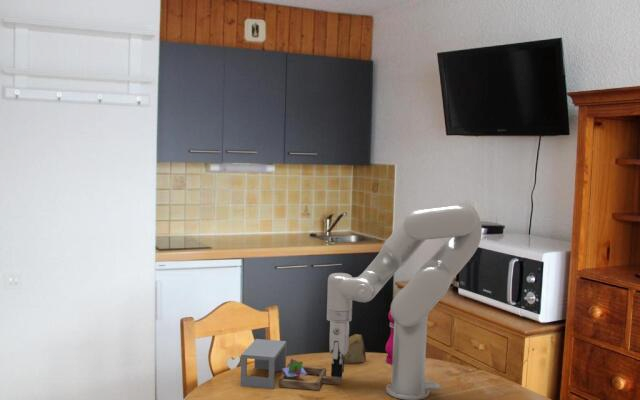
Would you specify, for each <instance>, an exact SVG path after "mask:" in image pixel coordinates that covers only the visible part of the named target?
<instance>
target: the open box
mask: <svg viewBox="0 0 640 400" xmlns="http://www.w3.org/2000/svg"><path fill="white" fill-rule="evenodd" d="M240 358H241V359H240V387H247V388H260V389H269V390H270V389H271V390H274V389H275V371H277V372H278V371H279V372H284V371H283V369H282V368H283V367H284V368H286V367H287V340H277V339H276V340H275V339H262V338H255V339H254V341H253V342H252V343H250V344H249V345H248V347H247V348H245V350H244V351H243V352H242V353H241V355H240ZM248 360H254V369H255V370H264V371H266V370H267V371H268V376H267V377H266V376H257V375H248V373H247V371H248V369H247V368H248Z"/></svg>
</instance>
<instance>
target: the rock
mask: <svg viewBox="0 0 640 400" xmlns="http://www.w3.org/2000/svg"><path fill="white" fill-rule="evenodd" d="M366 355H367V354H366V348H365V343H364V338H363V335H362V334H358V333H355V334H352V335H350V336H349V348H348V351H347V353H346V354H345V355H344V359H342V360H344V364H355V363H365V362H366V360H367V359H366V358H367V357H366Z"/></svg>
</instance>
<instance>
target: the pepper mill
mask: <svg viewBox="0 0 640 400" xmlns="http://www.w3.org/2000/svg"><path fill="white" fill-rule="evenodd" d="M388 320H389V321H390V322H389V327H390V335H389V338H388V340H387V341H386V344H385V350H384V351H385V352H386V358H385V359H386V361H385V362H386V363H387V364H389V365H392V363H393V339H394V322H395V321H394V319H393V317H392V315H391V309H390V310H389V312H388Z"/></svg>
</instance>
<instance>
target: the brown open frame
mask: <svg viewBox="0 0 640 400" xmlns="http://www.w3.org/2000/svg"><path fill="white" fill-rule="evenodd" d="M341 364H342V370H343V360H342V362H341ZM288 367H289V365H288V364H287V365H286V368H288ZM302 367H303V369H304V370H305V369H306V370H305V372H307V374H306V375H314V376H315V375H316V376H318V377H317V379H316V381H309V380H308V381H307V380H300V379H299V380H287V376H286V374H285V373H284V371H282V373H281V375H280V376H279V378H278V387H281V388H293V389H302V390H315V391H319V390H320V388H321V387H322V384H328V385H341V382H342V379H343V376H342V377H332V376H329V375H327V368H326V367H317V366H314V367H313V366H305V365H304V366H303V365H302Z"/></svg>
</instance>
